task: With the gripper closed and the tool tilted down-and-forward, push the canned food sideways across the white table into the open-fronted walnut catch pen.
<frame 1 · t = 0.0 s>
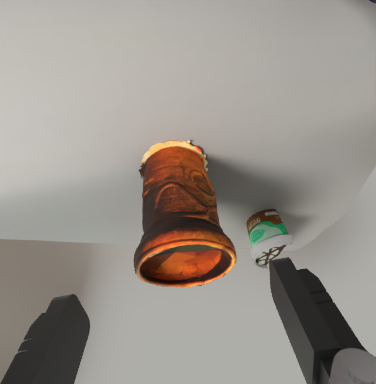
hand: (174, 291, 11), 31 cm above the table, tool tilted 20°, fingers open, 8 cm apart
food container: (254, 219, 65), on the table
vessel: (174, 168, 49), on the table
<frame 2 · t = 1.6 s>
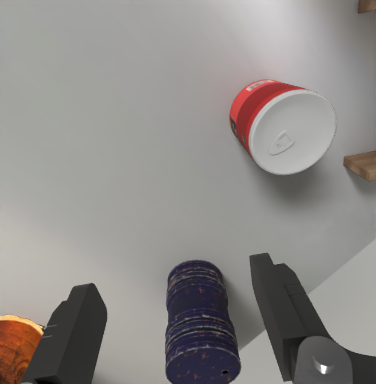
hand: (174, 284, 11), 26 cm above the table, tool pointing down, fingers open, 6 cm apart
storage jar: (194, 279, 47), on the table
vessel: (15, 337, 52), on the table
canned food: (258, 111, 34), on the table
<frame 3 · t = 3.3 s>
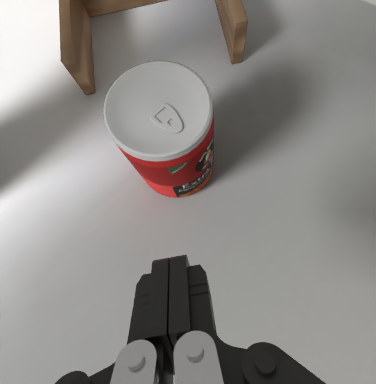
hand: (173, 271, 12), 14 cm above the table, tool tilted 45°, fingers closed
catch pen: (155, 37, 34), on the table
canned food: (177, 165, 29), on the table
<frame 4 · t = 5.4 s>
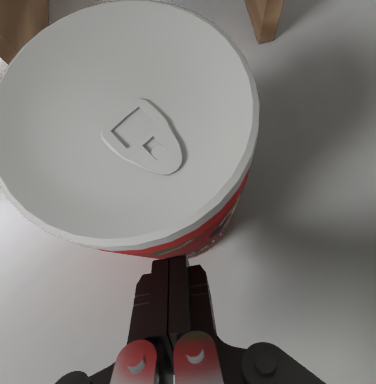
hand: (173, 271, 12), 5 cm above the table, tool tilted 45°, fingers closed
catch pen: (142, 6, 23), on the table
canned food: (174, 201, 18), on the table, touching gripper
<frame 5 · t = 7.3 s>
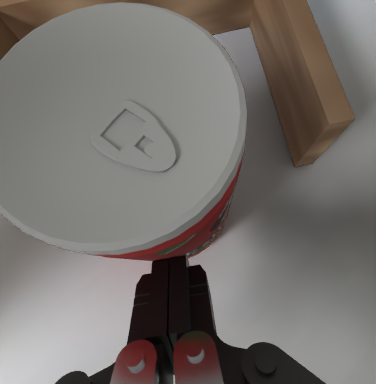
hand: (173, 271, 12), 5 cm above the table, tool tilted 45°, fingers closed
catch pen: (156, 110, 20), on the table
canned food: (169, 203, 18), on the table, touching gripper
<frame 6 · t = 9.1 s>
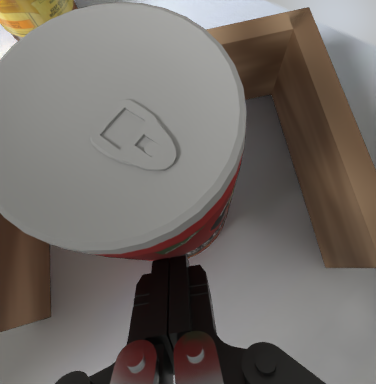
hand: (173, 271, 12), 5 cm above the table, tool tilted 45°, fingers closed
sauce bottle: (52, 28, 23), on the table
catch pen: (169, 191, 18), on the table
canned food: (168, 203, 18), on the table, touching gripper
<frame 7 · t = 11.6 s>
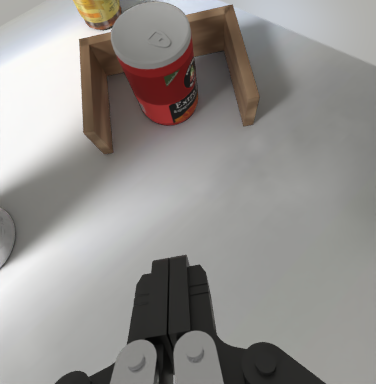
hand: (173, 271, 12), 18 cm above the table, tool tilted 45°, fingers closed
sauce bottle: (105, 18, 41), on the table
catch pen: (170, 97, 36), on the table
canned food: (170, 102, 36), on the table
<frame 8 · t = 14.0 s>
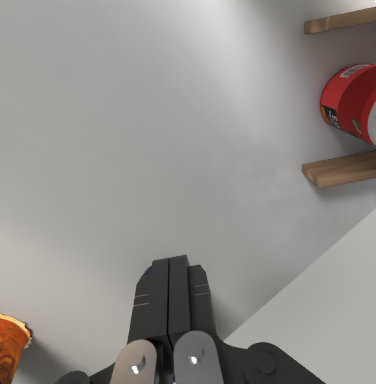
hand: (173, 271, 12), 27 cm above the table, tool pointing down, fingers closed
catch pen: (352, 96, 35), on the table
vessel: (0, 334, 54), on the table
canned food: (346, 96, 35), on the table
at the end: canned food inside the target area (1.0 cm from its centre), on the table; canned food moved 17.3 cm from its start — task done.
